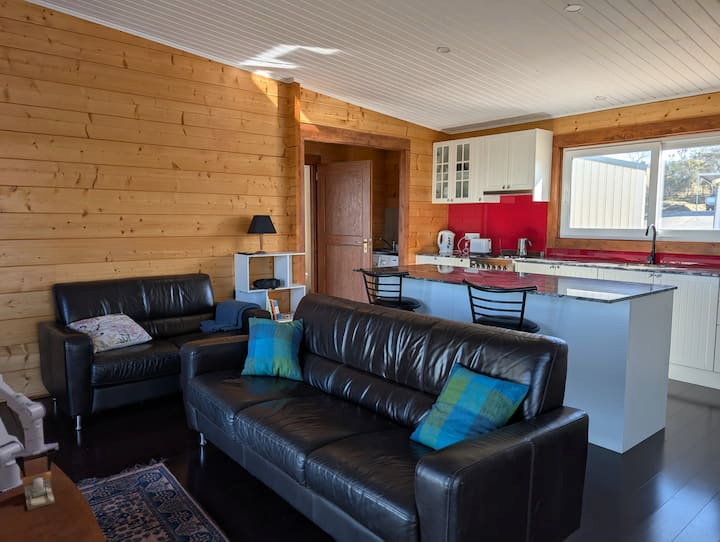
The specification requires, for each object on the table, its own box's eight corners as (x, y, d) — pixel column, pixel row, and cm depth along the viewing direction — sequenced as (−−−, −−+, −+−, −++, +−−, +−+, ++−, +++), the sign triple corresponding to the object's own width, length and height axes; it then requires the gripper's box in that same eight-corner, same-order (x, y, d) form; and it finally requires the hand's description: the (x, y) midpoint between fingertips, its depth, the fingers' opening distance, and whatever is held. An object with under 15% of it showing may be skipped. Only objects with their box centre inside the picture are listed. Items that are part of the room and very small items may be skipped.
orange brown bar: (22, 482, 190) (22, 478, 190) (50, 475, 195) (50, 471, 195) (22, 485, 188) (22, 481, 188) (51, 477, 193) (51, 473, 193)
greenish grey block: (31, 493, 189) (30, 479, 188) (44, 489, 191) (43, 476, 190) (32, 497, 186) (31, 483, 185) (45, 493, 188) (44, 480, 188)
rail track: (24, 492, 191) (23, 481, 191) (49, 485, 196) (49, 474, 195) (27, 510, 180) (27, 498, 180) (54, 502, 185) (53, 490, 184)
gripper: (10, 446, 182) (13, 483, 184) (58, 436, 191) (60, 471, 192) (9, 439, 188) (12, 475, 189) (55, 429, 196) (58, 463, 198)
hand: (36, 472), depth 191 cm, fingers open, 7 cm apart
